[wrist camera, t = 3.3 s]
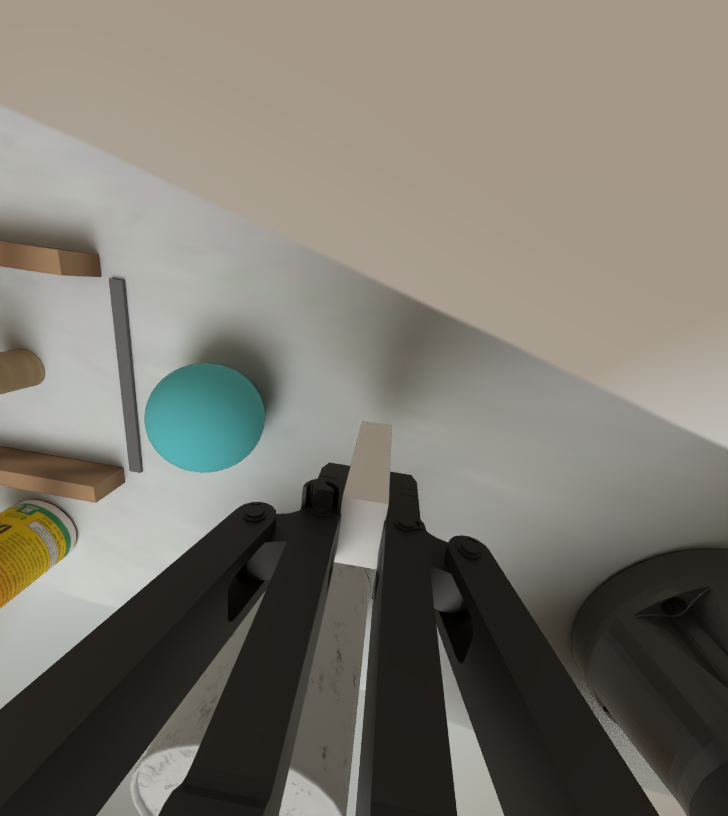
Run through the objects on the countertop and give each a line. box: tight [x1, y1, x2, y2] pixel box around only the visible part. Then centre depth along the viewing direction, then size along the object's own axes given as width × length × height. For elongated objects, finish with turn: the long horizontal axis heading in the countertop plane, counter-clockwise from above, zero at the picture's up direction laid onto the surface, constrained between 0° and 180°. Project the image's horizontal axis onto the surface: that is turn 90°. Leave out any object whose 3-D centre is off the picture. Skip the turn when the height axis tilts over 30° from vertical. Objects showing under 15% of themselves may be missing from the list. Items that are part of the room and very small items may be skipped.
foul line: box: [109, 278, 142, 473], centre depth 22 cm, size 1×13×1 cm, turn 172°
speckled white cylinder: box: [130, 562, 370, 816], centre depth 21 cm, size 10×10×12 cm
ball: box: [145, 363, 265, 473], centre depth 19 cm, size 6×6×6 cm
